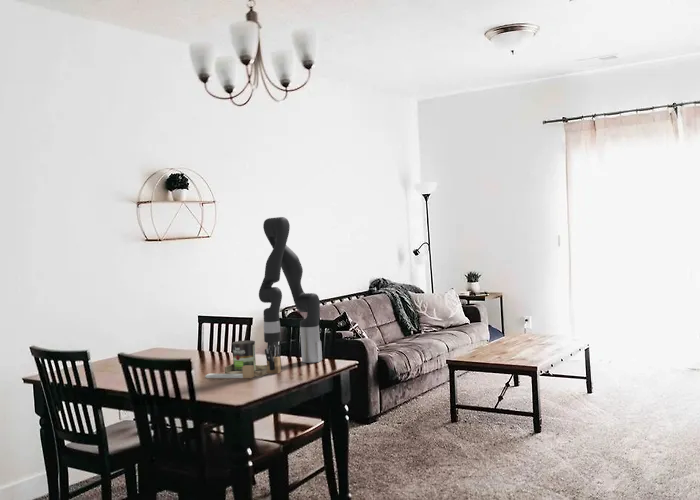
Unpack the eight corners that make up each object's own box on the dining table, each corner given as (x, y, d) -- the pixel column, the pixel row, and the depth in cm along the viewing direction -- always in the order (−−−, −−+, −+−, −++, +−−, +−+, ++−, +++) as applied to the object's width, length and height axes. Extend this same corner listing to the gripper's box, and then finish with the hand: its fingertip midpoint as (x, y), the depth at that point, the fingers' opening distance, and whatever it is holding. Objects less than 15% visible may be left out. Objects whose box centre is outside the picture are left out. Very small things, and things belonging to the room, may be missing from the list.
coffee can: (247, 375, 298) (246, 344, 298) (229, 374, 303) (227, 343, 303) (261, 370, 307) (259, 340, 307) (242, 369, 312) (241, 339, 312)
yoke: (285, 369, 308) (284, 354, 308) (273, 376, 293) (272, 360, 293) (239, 369, 314) (238, 354, 314) (225, 376, 299) (224, 360, 299)
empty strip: (254, 376, 295) (253, 365, 295) (251, 378, 292) (250, 366, 292) (209, 376, 301) (208, 365, 301) (205, 377, 297) (205, 366, 297)
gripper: (273, 333, 293) (275, 372, 293) (285, 328, 307) (287, 366, 307) (258, 333, 295) (260, 372, 295) (270, 329, 309) (272, 366, 309)
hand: (274, 369), depth 301 cm, fingers closed on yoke, 3 cm apart
